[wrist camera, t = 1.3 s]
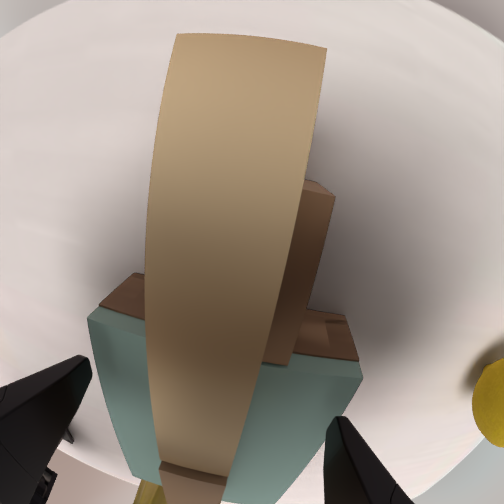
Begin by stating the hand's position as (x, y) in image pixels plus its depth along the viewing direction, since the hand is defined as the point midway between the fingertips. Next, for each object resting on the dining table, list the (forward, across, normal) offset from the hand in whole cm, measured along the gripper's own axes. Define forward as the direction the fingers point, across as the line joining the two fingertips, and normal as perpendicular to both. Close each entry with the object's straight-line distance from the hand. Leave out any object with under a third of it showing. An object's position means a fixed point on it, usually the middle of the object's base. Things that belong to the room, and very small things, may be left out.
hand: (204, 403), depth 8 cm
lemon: (+6, -19, +2) cm, 20 cm away
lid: (+2, 0, +7) cm, 7 cm away
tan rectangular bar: (+1, 0, -4) cm, 4 cm away
